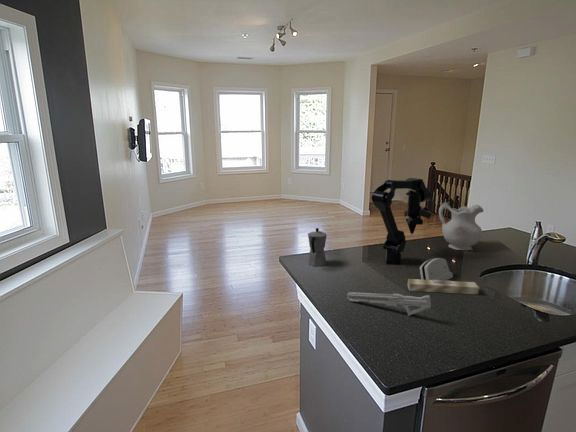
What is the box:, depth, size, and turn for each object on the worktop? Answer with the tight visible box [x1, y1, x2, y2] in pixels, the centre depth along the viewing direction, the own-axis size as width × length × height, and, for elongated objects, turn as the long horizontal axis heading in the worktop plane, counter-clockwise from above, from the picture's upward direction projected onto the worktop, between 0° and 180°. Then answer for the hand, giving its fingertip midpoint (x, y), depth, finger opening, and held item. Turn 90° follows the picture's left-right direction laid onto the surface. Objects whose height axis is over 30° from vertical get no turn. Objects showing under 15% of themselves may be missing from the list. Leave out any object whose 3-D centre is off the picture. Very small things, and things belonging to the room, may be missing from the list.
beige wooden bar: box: [407, 278, 480, 295], centre depth 143 cm, size 26×5×3 cm, turn 81°
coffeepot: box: [307, 227, 328, 267], centre depth 171 cm, size 15×9×18 cm, turn 160°
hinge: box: [419, 257, 454, 281], centre depth 153 cm, size 17×5×10 cm, turn 127°
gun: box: [346, 291, 432, 317], centre depth 128 cm, size 2×30×8 cm, turn 60°
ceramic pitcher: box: [438, 201, 484, 252], centre depth 191 cm, size 22×20×25 cm
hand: (411, 233), depth 179 cm, fingers closed
